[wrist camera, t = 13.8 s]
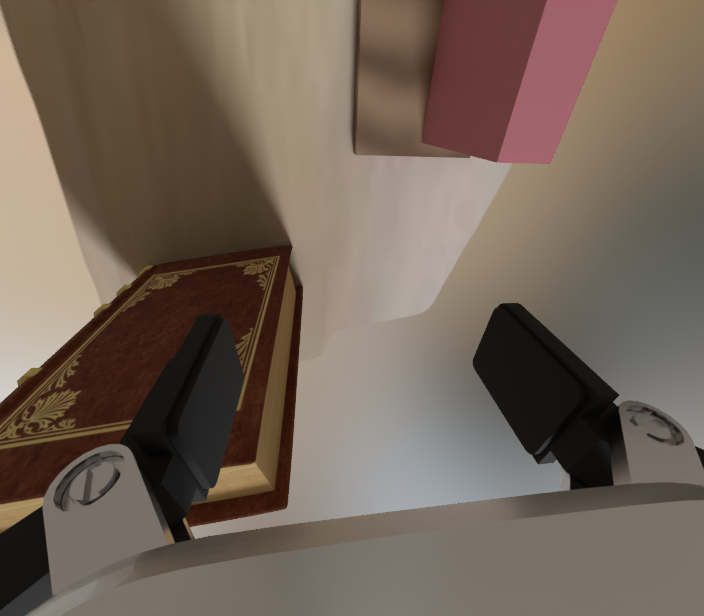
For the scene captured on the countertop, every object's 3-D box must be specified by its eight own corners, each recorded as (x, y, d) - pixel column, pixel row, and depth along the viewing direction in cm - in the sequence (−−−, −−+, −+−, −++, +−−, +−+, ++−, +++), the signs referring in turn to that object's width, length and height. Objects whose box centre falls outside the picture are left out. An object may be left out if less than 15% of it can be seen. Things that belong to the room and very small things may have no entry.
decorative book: (163, 311, 43) (-36, 569, 18) (133, 266, 38) (-187, 533, 14) (303, 289, 43) (289, 512, 19) (291, 242, 38) (251, 459, 14)
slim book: (446, -16, 24) (598, -168, 11) (488, -12, 25) (680, -153, 12) (421, 142, 31) (496, 162, 18) (454, 144, 32) (550, 163, 19)
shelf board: (360, -58, 24) (364, -70, 22) (509, -41, 25) (522, -51, 23) (353, 152, 33) (355, 154, 31) (462, 155, 34) (469, 157, 33)
